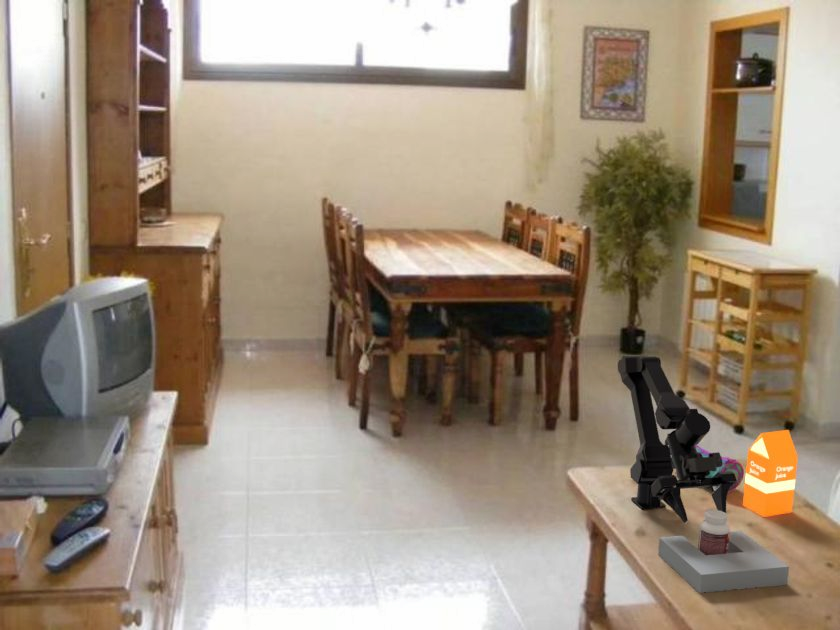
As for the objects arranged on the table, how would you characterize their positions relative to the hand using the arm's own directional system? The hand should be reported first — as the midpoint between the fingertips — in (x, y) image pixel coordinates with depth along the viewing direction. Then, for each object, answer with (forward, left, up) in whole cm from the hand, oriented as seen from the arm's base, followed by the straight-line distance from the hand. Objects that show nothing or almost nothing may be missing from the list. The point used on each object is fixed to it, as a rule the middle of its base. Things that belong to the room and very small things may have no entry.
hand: (705, 520), depth 216 cm
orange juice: (-20, +29, -8) cm, 36 cm away
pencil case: (-40, +23, -8) cm, 47 cm away
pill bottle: (+4, 0, -8) cm, 9 cm away
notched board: (+8, 0, -8) cm, 11 cm away
